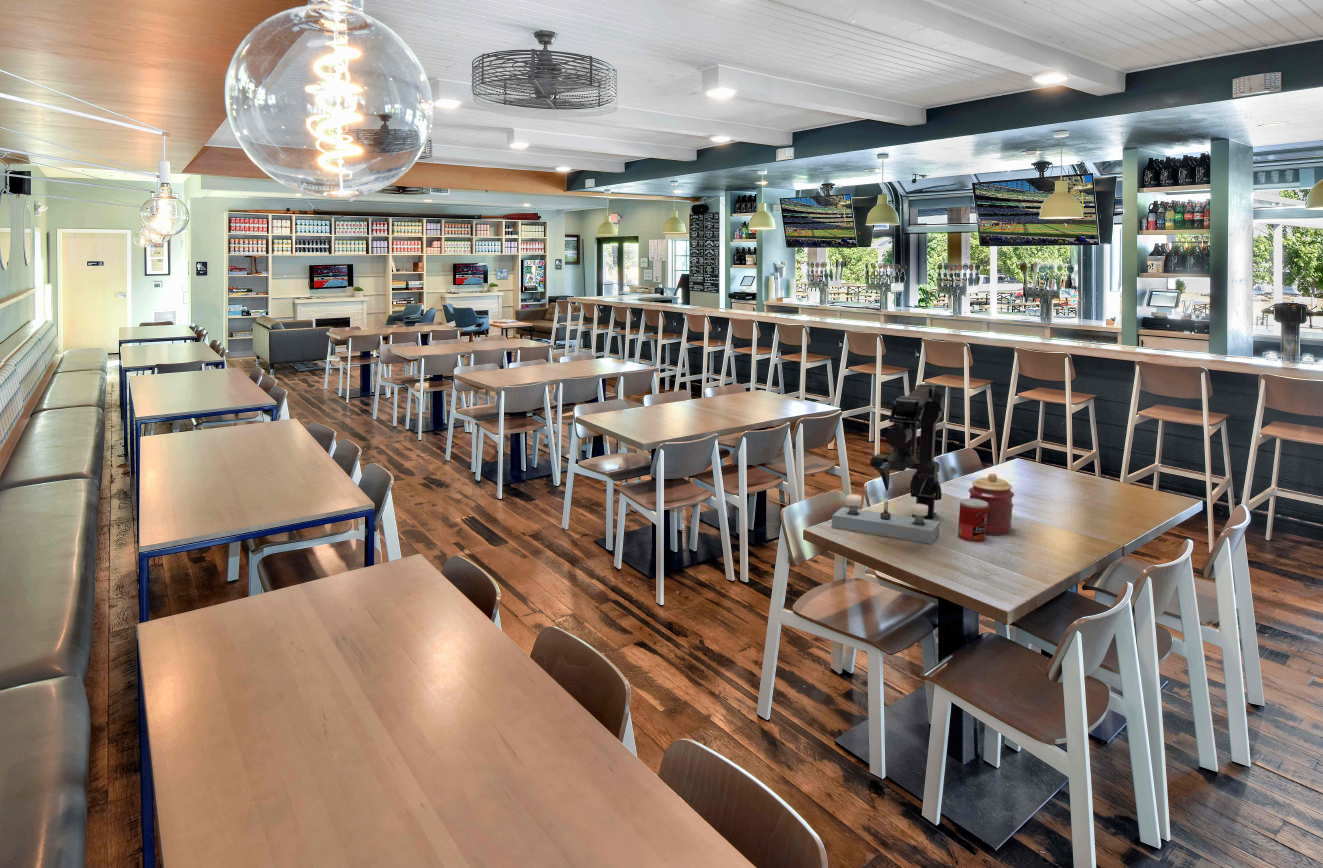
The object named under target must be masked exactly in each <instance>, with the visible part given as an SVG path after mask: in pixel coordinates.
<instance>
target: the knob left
mask: <svg viewBox="0 0 1323 868" xmlns="http://www.w3.org/2000/svg"><path fill="white" fill-rule="evenodd" d="M862 498H863V497H862V496H861V494H853V493H852V494H847V495H846V498H845V504H846V505H847V506H848V508H849V513H852V514H856V513H858V509H859V506H862Z"/></svg>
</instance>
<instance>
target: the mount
mask: <svg viewBox="0 0 1323 868" xmlns="http://www.w3.org/2000/svg"><path fill="white" fill-rule="evenodd" d="M881 513H882V512H877V511H871V510H864V509H859V508H858V513H856V514H852V513H849V507H845V506H842V507H841V508H839V509H838V510H836V512H834V513H833V514H832V516H831V519H832V520H831V528H833V529H838V528H839V530H844V529H845V530H846V531H850V532H856V533H863V534H869V535H876V536H880V537H881V536H882V537H888V538H893V539H898V540H904V541H905V540H906V541H911V542H917V543H921V544H922V543H923V544H928V545H932V544H933V543H934V541H936V539H937V538H938V536H939V535H940V523H941V521H938V520H933V519H926V518H924V523H923V524H917V523H915V522H914V521H915V517H913V516H912V517H911V516H905V515H897V514H891V513H890V514H891V518H890V520H883V519H881V518H880V514H881Z"/></svg>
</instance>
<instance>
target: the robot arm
mask: <svg viewBox="0 0 1323 868" xmlns="http://www.w3.org/2000/svg"><path fill="white" fill-rule="evenodd" d="M935 387H936V386H934V385H932V384H924V383H923V384H921V383H920V384H917V385H916V386H915V389H913V391H911V392H910V393H909V394H908V395H900V396H898V397H897V398H896V399H895V400H894V401H893V403H892V408H891V411H890V415H889V419H888V422H889V423H893V425H892V427H891V428H889V429H888V430H887V432H886V434H885V440H886V442H887V444H888V445H889V446H891V447H893V450H892V452H891V453H890V455H889V454H888V455H887V454H880V453H879V454H878V453H877V454H876V455H874V456H872V457H870V460H869V467H871V468H874V470H875V471H877V472H878V473H879V474H880V477H881V480H882V482H883V485H884V488H885V489H884V490H885V491H887V492H888V491H889V487H890V473H891V472H890V471H898V472H905V471H906V470H907V469H913V470H916V471H915V472H914V474H913V475H912V478H911V480H910V483H909V484H910V497H911V498H916V499H915V504H925V505H927V506H928V515H926V516H924V519H927V520H933V519H935V517H936V516H937V515H938V513H937V512H935V503H936V502H935V501H940V500H942V486H941V483H940V481H939V474H938V473H939V472H940V467H941V466H940V463H939V462H938V461H935V450H936V449H935V445H936V434H937V433H936V432H937V429H936V428H937V422H938V421H939V420H940V418H941V417H942V415H943V412H944V411H945V405H946V403H945V399H944V395H943V393H940V392H939V391H938V390H937V389H936V388H935ZM919 423H920V439H919V455H918V462H917V461H916V460H917V457H916V450H917V449H916V448H917V445H918V443H917V434H918V433H917V431H918V424H919ZM911 514H912V513H911ZM912 517H915V515H913V514H912Z"/></svg>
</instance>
